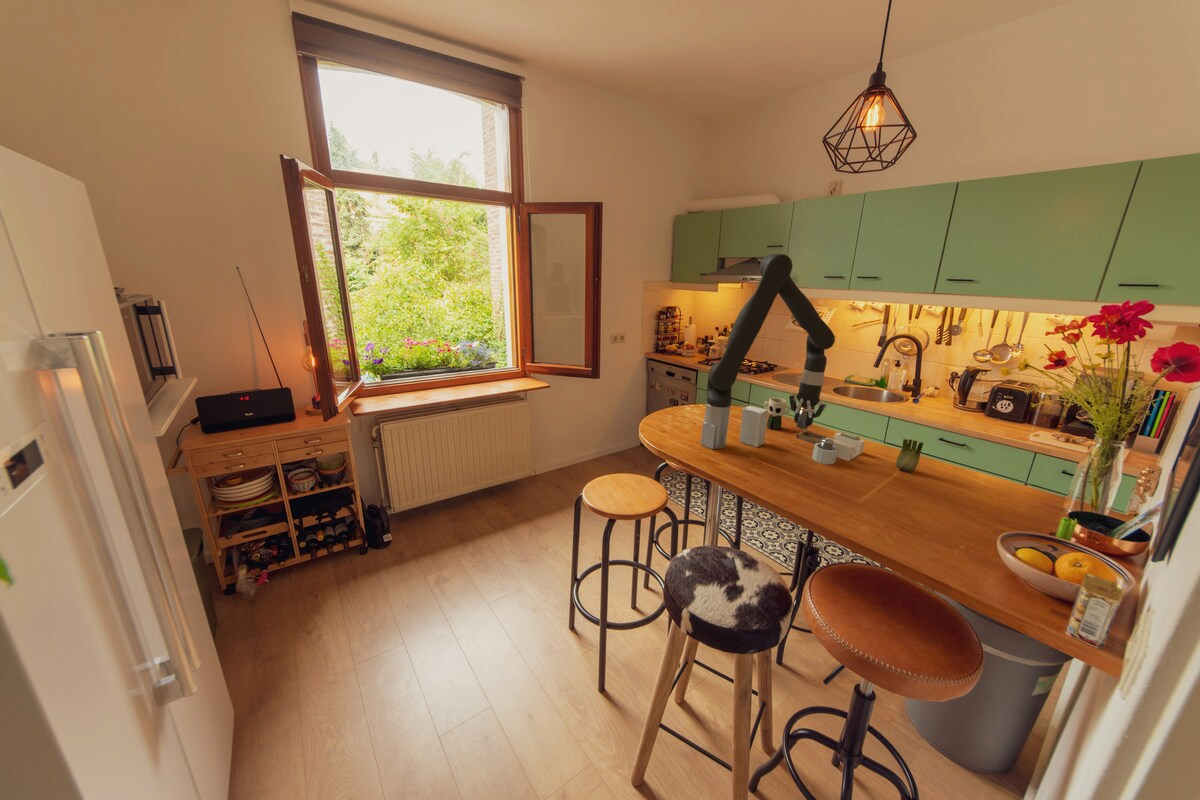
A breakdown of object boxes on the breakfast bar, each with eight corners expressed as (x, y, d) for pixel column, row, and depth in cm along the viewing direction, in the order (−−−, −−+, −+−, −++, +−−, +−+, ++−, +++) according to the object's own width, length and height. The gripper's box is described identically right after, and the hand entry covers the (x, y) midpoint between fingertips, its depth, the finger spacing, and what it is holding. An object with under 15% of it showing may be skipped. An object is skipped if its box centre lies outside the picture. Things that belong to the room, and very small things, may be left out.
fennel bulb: (916, 472, 154) (925, 441, 150) (910, 475, 152) (918, 443, 148) (899, 465, 159) (907, 435, 155) (892, 468, 156) (900, 438, 153)
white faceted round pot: (828, 468, 155) (832, 453, 153) (808, 460, 160) (811, 446, 159) (838, 462, 159) (841, 448, 157) (817, 455, 165) (820, 441, 163)
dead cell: (826, 463, 157) (831, 441, 154) (815, 459, 160) (819, 438, 157) (831, 460, 159) (835, 439, 157) (820, 456, 162) (824, 435, 160)
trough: (824, 449, 171) (826, 443, 170) (795, 439, 180) (796, 433, 179) (833, 444, 175) (834, 439, 175) (804, 435, 184) (805, 430, 184)
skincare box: (764, 444, 174) (769, 409, 169) (757, 448, 170) (762, 413, 165) (745, 438, 180) (749, 404, 175) (737, 441, 176) (742, 407, 171)
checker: (848, 462, 160) (852, 445, 157) (821, 453, 167) (824, 436, 165) (861, 454, 167) (865, 438, 165) (835, 446, 174) (838, 430, 172)
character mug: (758, 426, 193) (762, 399, 189) (764, 422, 198) (768, 395, 194) (783, 433, 186) (788, 404, 182) (788, 428, 192) (793, 401, 188)
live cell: (804, 429, 164) (808, 409, 162) (794, 426, 167) (798, 406, 165) (809, 427, 167) (813, 407, 164) (799, 424, 170) (803, 404, 167)
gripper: (788, 378, 164) (780, 420, 170) (826, 388, 154) (816, 432, 159) (798, 376, 169) (790, 416, 174) (835, 385, 158) (825, 428, 164)
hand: (802, 424), depth 167 cm, fingers closed on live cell, 4 cm apart
